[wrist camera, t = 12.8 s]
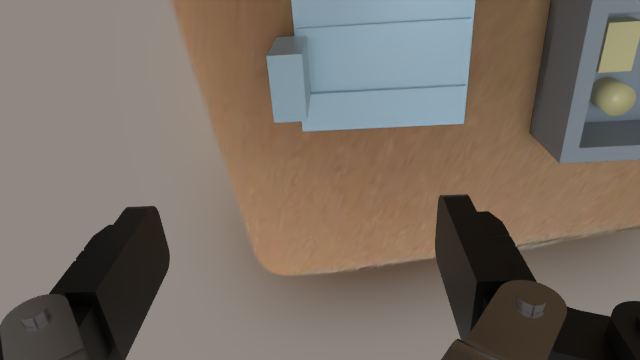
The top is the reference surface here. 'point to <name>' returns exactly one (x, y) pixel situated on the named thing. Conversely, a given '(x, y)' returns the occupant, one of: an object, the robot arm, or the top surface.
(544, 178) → the top surface
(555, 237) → the top surface
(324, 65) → the lid
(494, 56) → the top surface
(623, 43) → the grey shallow tray
